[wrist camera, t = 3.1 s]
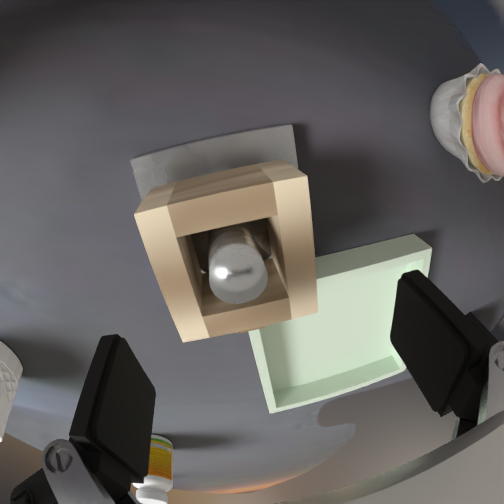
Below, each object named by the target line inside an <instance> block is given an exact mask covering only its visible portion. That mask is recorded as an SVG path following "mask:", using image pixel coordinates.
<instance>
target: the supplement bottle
mask: <svg viewBox="0 0 504 504" xmlns="http://www.w3.org/2000/svg"><path fill="white" fill-rule="evenodd" d="M132 484H133V485H134V486H135V487H137V488H138V490H137V491H136V498H137V500H138V501H139V502H141V503H144V504H168V495H167V494H166V492H168V491H170V490H171V489H172V487H173V448H172V443H171V442H170V441H169V440H168V439H166V438H164V437H162V436H159V435H153V434H151V445H150V457H149V470H148V475H147V476H146V477H144V484H140V483H132Z"/></svg>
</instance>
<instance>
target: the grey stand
mask: <svg viewBox="0 0 504 504" xmlns="http://www.w3.org/2000/svg"><path fill="white" fill-rule="evenodd" d="M282 159H283V160H285V161H286V162H288V163H289V164H291V165H292V166H294V167H295V168H297V169H298V162H297V155H296V148H295V141H294V134H293V127H292V125H291V124H282V125H275V126H269V127H263V128H257V129H251V130H245V131H240V132H235V133H230V134H225V135H220V136H215V137H210V138H206V139H201V140H197V141H193V142H188V143H184V144H180V145H176V146H172V147H169V148H165V149H161V150H157V151H154V152H150V153H147V154H143V155H140V156H137V157H134V158H133V159H131V160H130V161H131V165H132V168H133V172H134V176H135V179H136V183H137V186H138V190H139V193H140V197H141V200H142V201H143V199H144V198H145V196H146V195H147V193H148V192H149V191H150V189H151V188H154V187H158V186H161V185H165V184H169V183H173V182H177V181H181V180H185V179H189V178H193V177H198V176H202V175H206V174H211V173H215V172H220V171H225V170H229V169H234V168H239V167H244V166H249V165H254V164H260V163H265V162H270V161H276V160H282ZM191 237H192V241H193V244H194V248H195V251H196V255H197V258H198V262H199V265H200V268H201V272H202V273H207V272H209V283H210V287H211V290H212V291H213V293H214V294H215V295H216V296H217V297H218V298H219V299H221V300H222V301H225V302H228V303H232V304H241V303H246V302H249V301H252V300H253V299H255V298H257V297H258V296H259V295H260V294H261V293H262V292H263V290H264V289H265V287H266V285H267V281H268V274H267V270H266V267H265V265H264V262H263V260H266V259H270V258H272V253H271V247H270V240H269V234H268V228H267V222H266V218H262V219H257V220H252V221H248V222H243V223H238V224H234V225H229V226H225V227H220V228H216V229H211V230H207V231H202V232H198V233H194V234H191Z"/></svg>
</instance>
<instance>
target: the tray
mask: <svg viewBox="0 0 504 504" xmlns="http://www.w3.org/2000/svg"><path fill="white" fill-rule="evenodd" d="M431 253H432V247H431V246H429V245H428V244H427V243H425V242H424V241H423V240H421V239H420V238H419V237H417V236H416V235H415V234H410V235H406V236H402V237H398V238H394V239H390V240H386V241H382V242H378V243H374V244H370V245H365V246H361V247H357V248H353V249H349V250H345V251H341V252H336V253H332V254H328V255H324V256H319V257H315V265H316V280H317V298H318V313H315V314H311V315H307V316H303V317H299V318H295V319H291V320H287V321H283V322H279V323H275V324H271V325H266V326H265V328H261V329H257V330H252V331H248V332H249V336H250V340H251V344H252V348H253V352H254V355H255V359H256V363H257V367H258V371H259V375H260V379H261V383H262V386H263V390H264V394H265V398H266V401H267V405H268V409H269V413H274V412H279V411H283V410H287V409H291V408H295V407H299V406H303V405H306V404H310V403H314V402H317V401H321V400H324V399H327V398H331V397H334V396H337V395H340V394H343V393H346V392H349V391H352V390H355V389H358V388H361V387H364V386H367V385H369V384H372V383H375V382H377V381H380V380H383V379H385V378H388V377H390V376H393V375H395V374H398V373H400V372H402V371H405V369H406V365H405V364H404V362H403V361H402V359H401V358H400V356H399V355H398V353H397V351H396V350H395V348H394V347H393V345H392V343H391V341H390V332H391V326H392V319H393V313H394V306H395V299H396V291H397V282H398V280H399V279H400V278H401V275H402V274H403V273H406V272H409V271H412V270H416V269H417V270H419V271H421V272H422V273H423V274H424V275H425V276H426V277H427V278H428V273H429V266H430V260H431Z"/></svg>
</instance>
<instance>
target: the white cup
mask: <svg viewBox="0 0 504 504" xmlns="http://www.w3.org/2000/svg"><path fill="white" fill-rule="evenodd" d="M22 372H23V367H22V365H21V363H20V360H19V359H18V358H17V356H16V355H15V354H14V352H13V351H12V350H11V349H10V348H9V347H7V346H6V345H5V344H4V343H3V342H1V341H0V442H2V439H3V435H4V432H5V428H6V425H7V421H8V418H9V415H10V411H11V408H12V405H13V402H14V398H15V395H16V392H17V387H18V384H19V381H20V379H21V376H22Z"/></svg>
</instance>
